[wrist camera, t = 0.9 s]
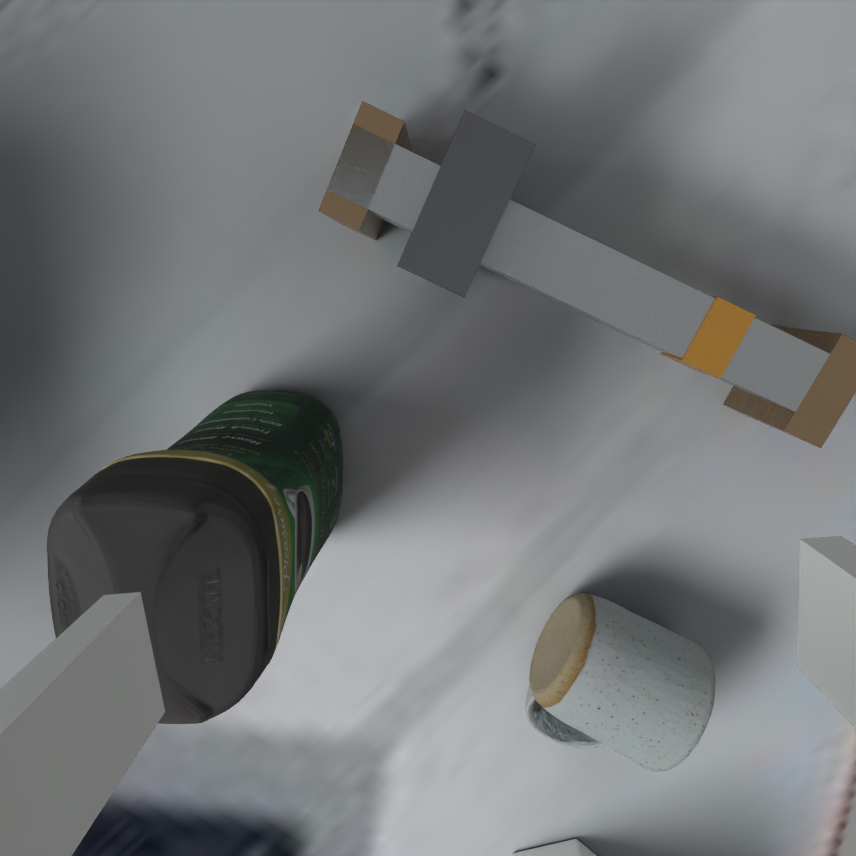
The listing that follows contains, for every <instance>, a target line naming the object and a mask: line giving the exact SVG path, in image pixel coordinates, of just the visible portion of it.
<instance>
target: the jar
mask: <svg viewBox="0 0 856 856" xmlns="http://www.w3.org/2000/svg"><path fill="white" fill-rule="evenodd" d="M512 856H596V855H595V854H594V853H593V852H592V851H590V850H589V849H588V848H587V847H586V846H584V845H583V844H582V843H581V842H580V841H579V840H577V839H571V840H567V841H563V842H558V843H554V844H550V845H546V846H541V847H537V848H533V849H528V850H524V851H520V852H515V853H513V854H512Z"/></svg>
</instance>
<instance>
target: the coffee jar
mask: <svg viewBox="0 0 856 856" xmlns="http://www.w3.org/2000/svg"><path fill="white" fill-rule="evenodd" d="M342 471H343V462H342V447H341V439H340V432H339V427H338V424H337V422H336V419H335V417H334V416H333V414H332V413H331V411H330V410H329V409H328V408H327V407H326V406H325V405H324V404H323V403H321V402H320V401H318V400H317V399H315V398H313V397H310V396H307V395H303V394H299V393H294V392H283V391H253V392H247V393H243V394H240V395H237V396H235V397H233V398H231V399H230V400H228V401H227V402H225V403H224V404H222V405H221V406H219V407H218V408H217V409H215V410H214V411H213V412H212V413H210V414H209V415H208V416H207V417H206V418H205V419H203V420H202V421H201V422H200V423H199V424H198V425H197V426H196V427H194V428H193V429H192V430H191V431H190V432H189V433H187V434H186V435H185V436H184V437H182V438H181V439H180V440H179V441H177V442H176V443H175V444H173V445H172V446H171V447H169V448H168V449H167V450H161V451H152V452H146V453H139V454H134V455H130V456H127V457H124V458H121V459H119V460H116V461H114V462H112V463H110V464H109V465H107V466H105V467H104V468H103V469H101V470H100V471H99V472H98V473H97V474H95V475H94V476H93V477H92V478H91V479H90V480H88V481H87V482H86V483H85V484H84V485H82V486H81V487H80V488H79V489H77V490H76V491H75V492H74V493H73V494H71V495H70V496H69V497H68V498H67V499H66V500H65V501H64V502H63V503H62V504H61V506H60V507H59V508H58V510H57V511H56V513H55V515H54V516H53V518H52V521H51V524H50V527H49V531H48V539H47V553H48V580H49V595H50V602H51V611H52V619H53V624H54V630H55V635H56V638H57V637H58V636H59V635H61V634H62V633H63V632H64V631H65V630H66V629H67V628H68V627H69V626H70V625H71V624H73V623H74V622H75V621H76V620H77V619H78V618H79V617H80V616H81V615H82V614H83V613H85V612H86V611H87V610H88V609H89V608H90V607H91V606H92V605H93V604H94V603H96V602H97V601H98V600H99V599H100V598H101V597H102V596H103V595H110V594H123V593H135V592H141V597H142V602H143V607H144V611H145V616H146V621H147V626H148V631H149V636H150V641H151V645H152V650H153V655H154V660H155V665H156V670H157V674H158V679H159V684H160V689H161V694H162V699H163V704H164V708H165V713H164V714H163V716H162V717H161V719H160V720H159V722H158V723H162V724H194V723H202V722H204V721H207V720H209V719H211V718H213V717H215V716H217V715H219V714H221V713H223V712H225V711H227V710H228V709H230V708H231V707H232V706H234V705H235V704H237V703H238V702H239V701H240V700H241V699H242V698H243V697H244V696H245V695H246V694H247V693H248V691H249V690H250V689H251V688H252V687H253V685H254V684H255V682H256V681H257V679H258V678H259V677H260V675H261V674H262V672H263V671H264V669H265V668H266V666H267V665H268V664H269V662H270V660H271V659H272V657H273V654H274V652H275V649H276V647H277V644H278V642H279V639H280V635H281V632H282V629H283V626H284V623H285V620H286V617H287V614H288V612H289V609H290V606H291V603H292V601H293V598H294V596H295V594H296V592H297V590H298V588H299V586H300V584H301V582H302V581H303V579H304V577H305V575H306V574H307V572H308V570H309V568H310V566H311V564H312V563H313V561H314V560H315V558H316V556H317V554H318V553H319V551H320V550H321V548H322V547H323V545H324V543H325V542H326V540H327V539H328V537H329V535H330V533H331V531H332V530H333V528H334V526H335V523H336V521H337V518H338V515H339V509H340V503H341V493H342Z"/></svg>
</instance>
